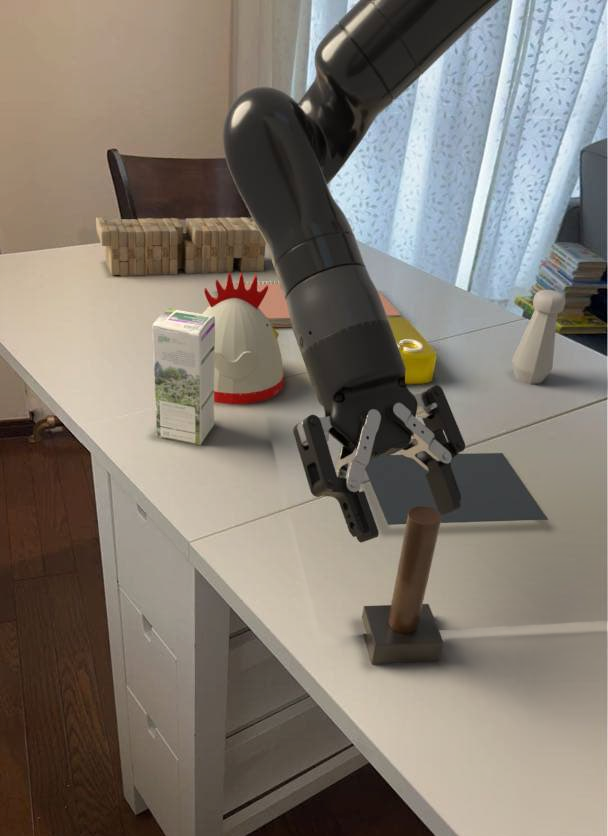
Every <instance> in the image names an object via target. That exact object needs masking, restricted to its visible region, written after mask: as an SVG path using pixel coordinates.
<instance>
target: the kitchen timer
mask: <svg viewBox="0 0 608 836" xmlns="http://www.w3.org/2000/svg"><path fill="white" fill-rule="evenodd" d="M257 281H258V275H257V274H255V275H254V277H253V279H252V281H251V282H252V284H251V287H250V289H249V290H246V289H245V285H244V284H245V280H244V276H243V271H240V275H239V279H238V282H239V284H238V288H237V289H234V286H233V282H234V281H233V277H232V273H231V272H227V280H226V283H225V284H226V288H225V289H223V288H222V286H221V285H220V284H221V283H220V281H219V280H218V279H215V287H216V293H217V296H216V297H214V296H212V295H211V293H210V292H209V290H208V289H207V288H206V287H204V290H203V291H204V295H205V298H206V301H207V302H208V304H209V306H208V307H207V308H206V309H205V310H204V311H203V312H202V314H205V315H211V316H214V317H215V363H214V403H219V404H227V405H249V404H253V403H259V402H263V401H266V400H268V399H271V398H273V397H274V396H277V394H279V393H280V392H281V390H282V388H283V386H284V377H285V376H284V375H285V374H284V364H283V357H282V353H281V349H280V348H281V347H280V344H279V340H278V338H279V335H280V334H279V332H278V331H277V330H276V329H275V327H272V325H271V324H270V322H269V320H268V318H267V317H266V316H265V315H264V313H263V312H262V311H261V310H260V309H259V308H258V307H259V305H260V304H261V302H262V300H263V299H264V297H265V295H266V293H267V290H268V285H266V286H265V288H264V289H263V290H262V291H261V292H258V291H257Z"/></svg>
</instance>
